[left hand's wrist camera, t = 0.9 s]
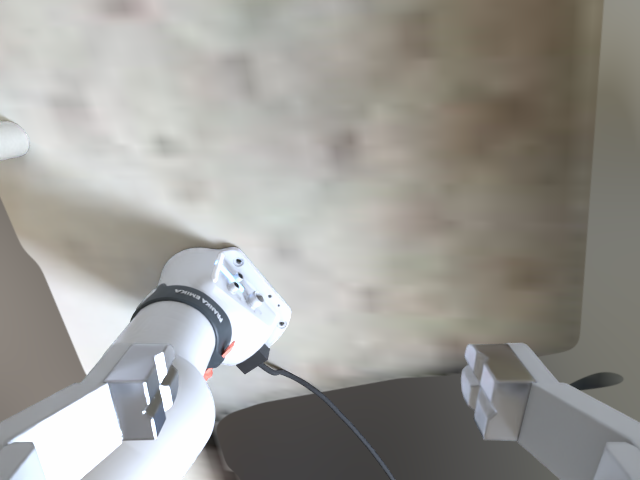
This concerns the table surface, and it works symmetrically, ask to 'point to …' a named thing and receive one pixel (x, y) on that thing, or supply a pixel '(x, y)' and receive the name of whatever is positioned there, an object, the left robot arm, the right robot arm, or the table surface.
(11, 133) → the bottle
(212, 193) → the table surface
